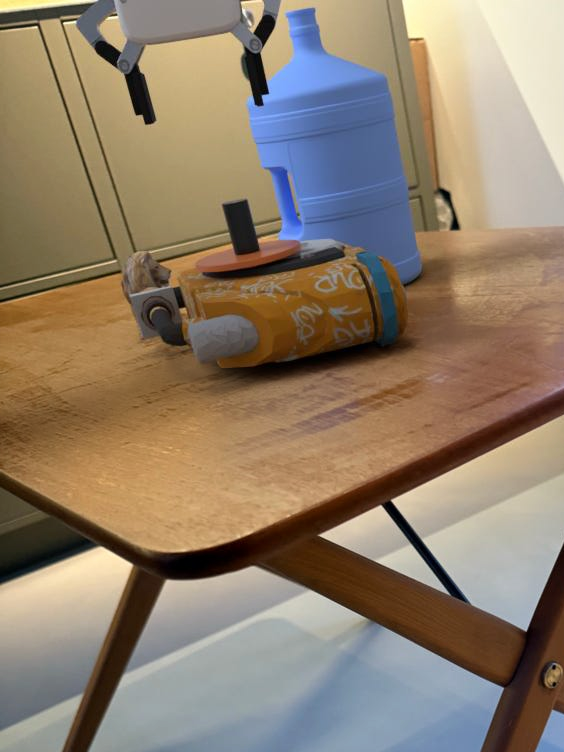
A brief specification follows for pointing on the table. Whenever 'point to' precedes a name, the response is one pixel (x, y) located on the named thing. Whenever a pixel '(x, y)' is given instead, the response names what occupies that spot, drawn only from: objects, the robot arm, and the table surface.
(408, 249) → the water jug
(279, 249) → the lid
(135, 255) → the lion figurine
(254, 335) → the device
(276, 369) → the table surface
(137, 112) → the robot arm
